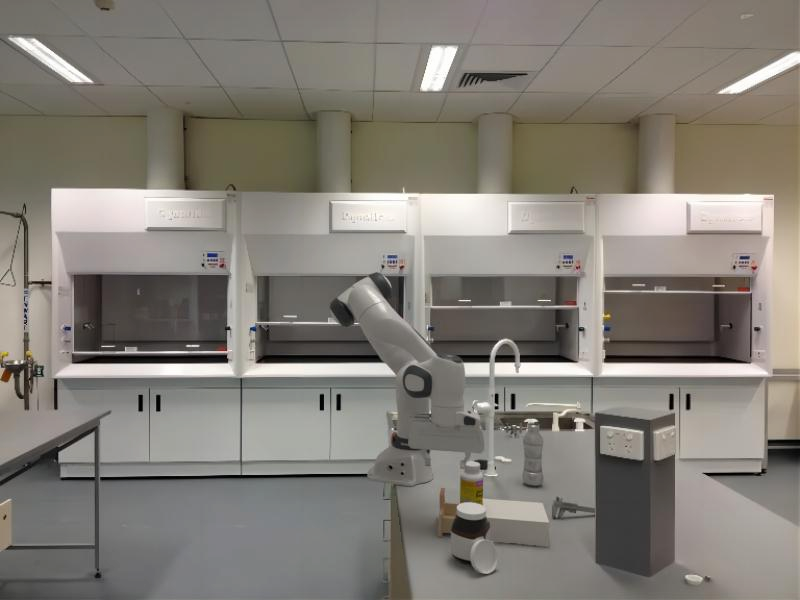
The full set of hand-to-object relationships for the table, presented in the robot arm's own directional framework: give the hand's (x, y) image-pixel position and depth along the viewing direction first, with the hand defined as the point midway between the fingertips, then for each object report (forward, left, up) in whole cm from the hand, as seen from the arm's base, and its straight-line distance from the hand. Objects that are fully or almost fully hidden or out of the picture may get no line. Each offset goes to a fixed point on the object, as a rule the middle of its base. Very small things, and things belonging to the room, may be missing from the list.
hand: (445, 466), depth 132 cm
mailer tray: (+7, -1, -16) cm, 17 cm away
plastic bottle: (+27, +35, -16) cm, 48 cm away
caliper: (+39, +14, -16) cm, 45 cm away
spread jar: (+8, -17, -16) cm, 25 cm away
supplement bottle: (+7, +13, -16) cm, 22 cm away
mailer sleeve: (+18, -1, -16) cm, 24 cm away
